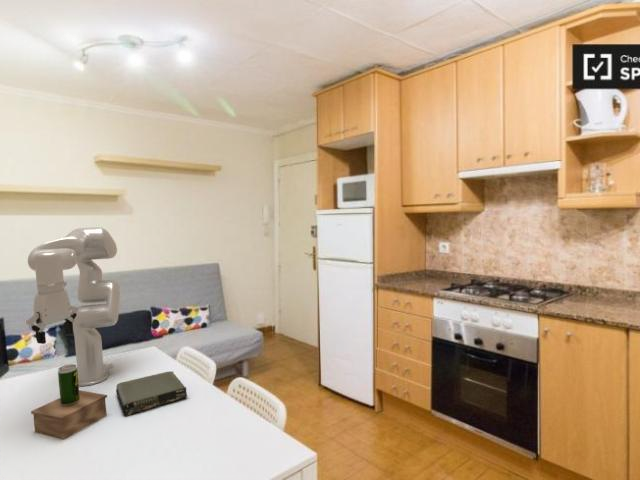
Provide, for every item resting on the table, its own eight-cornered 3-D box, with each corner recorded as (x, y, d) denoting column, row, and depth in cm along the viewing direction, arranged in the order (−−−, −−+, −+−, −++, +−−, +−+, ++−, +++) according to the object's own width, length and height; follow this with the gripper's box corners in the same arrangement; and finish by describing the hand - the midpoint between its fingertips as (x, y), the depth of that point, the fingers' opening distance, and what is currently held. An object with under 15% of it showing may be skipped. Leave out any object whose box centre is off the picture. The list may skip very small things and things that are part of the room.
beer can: (60, 408, 127) (57, 371, 126) (60, 401, 131) (57, 366, 131) (80, 403, 130) (77, 367, 129) (79, 397, 134) (76, 362, 134)
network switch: (126, 421, 132) (125, 406, 132) (108, 398, 150) (107, 385, 149) (193, 397, 147) (193, 384, 147) (170, 379, 165) (169, 367, 165)
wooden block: (79, 408, 141) (77, 389, 140) (108, 414, 136) (106, 394, 135) (32, 432, 126) (30, 411, 126) (63, 440, 121) (61, 418, 121)
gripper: (67, 282, 142) (71, 329, 143) (16, 293, 126) (21, 346, 127) (82, 283, 139) (86, 331, 141) (32, 295, 123) (38, 348, 125)
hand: (55, 338), depth 134 cm, fingers open, 9 cm apart
